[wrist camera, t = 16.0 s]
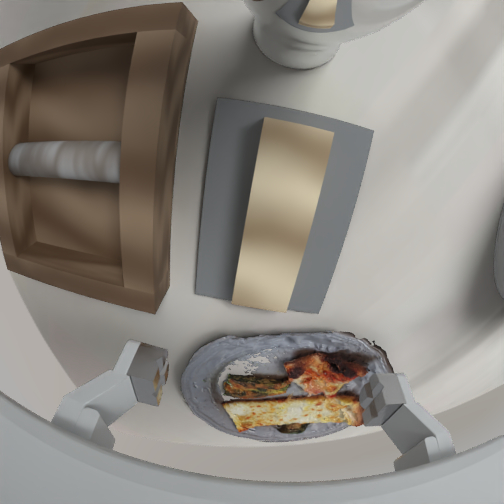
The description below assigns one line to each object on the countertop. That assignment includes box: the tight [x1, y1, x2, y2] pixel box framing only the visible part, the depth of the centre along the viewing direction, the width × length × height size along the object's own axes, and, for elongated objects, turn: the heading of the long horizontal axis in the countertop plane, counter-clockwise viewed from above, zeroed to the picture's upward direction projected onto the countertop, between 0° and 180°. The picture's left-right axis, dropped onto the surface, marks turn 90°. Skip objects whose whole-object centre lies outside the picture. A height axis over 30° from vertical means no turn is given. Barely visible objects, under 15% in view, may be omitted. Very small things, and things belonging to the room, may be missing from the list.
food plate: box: [181, 330, 394, 442], centre depth 29 cm, size 25×23×4 cm
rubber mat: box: [195, 98, 374, 314], centre depth 21 cm, size 16×11×1 cm
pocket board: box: [0, 2, 198, 314], centre depth 17 cm, size 22×18×4 cm
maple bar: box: [231, 117, 334, 313], centre depth 20 cm, size 14×4×2 cm, turn 170°
